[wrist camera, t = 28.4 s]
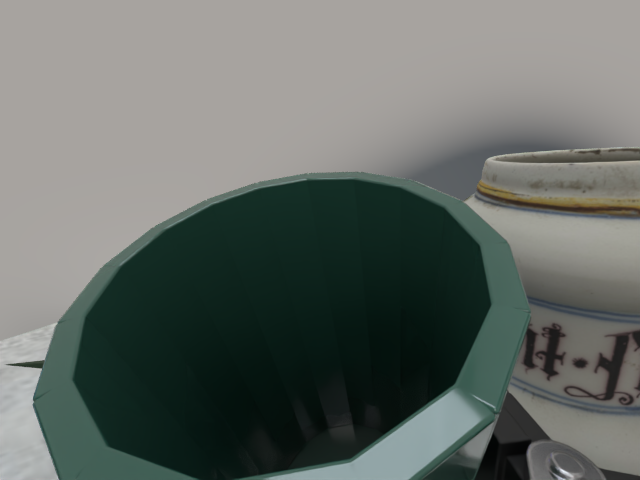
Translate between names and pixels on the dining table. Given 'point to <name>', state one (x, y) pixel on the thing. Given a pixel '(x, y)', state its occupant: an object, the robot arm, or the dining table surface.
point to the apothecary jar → (575, 292)
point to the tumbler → (290, 340)
